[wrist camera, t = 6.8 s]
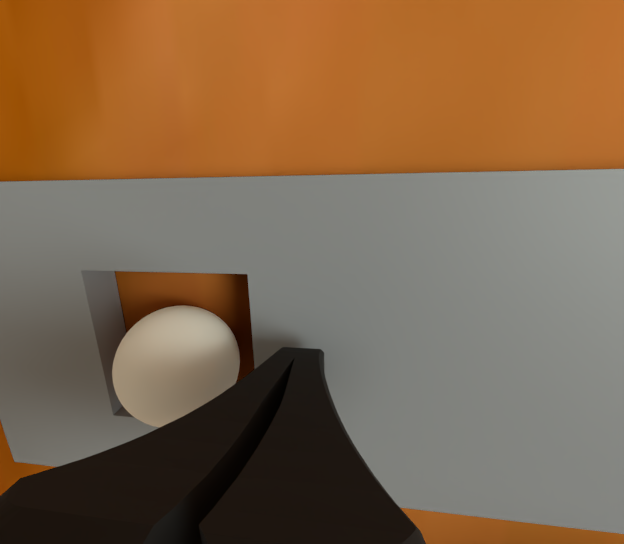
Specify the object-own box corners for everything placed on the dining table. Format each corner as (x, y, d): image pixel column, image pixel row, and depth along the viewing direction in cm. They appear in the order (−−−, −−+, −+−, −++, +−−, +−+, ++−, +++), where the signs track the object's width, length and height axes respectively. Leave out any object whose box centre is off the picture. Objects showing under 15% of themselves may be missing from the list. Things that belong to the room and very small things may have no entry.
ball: (145, 378, 13) (243, 364, 14) (111, 469, 10) (246, 444, 11) (122, 291, 12) (234, 281, 13) (71, 362, 8) (233, 342, 9)
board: (645, 498, 12) (682, 541, 11) (45, 436, 16) (14, 461, 15) (760, 166, 9) (835, 164, 8) (-30, 182, 13) (-80, 183, 11)
